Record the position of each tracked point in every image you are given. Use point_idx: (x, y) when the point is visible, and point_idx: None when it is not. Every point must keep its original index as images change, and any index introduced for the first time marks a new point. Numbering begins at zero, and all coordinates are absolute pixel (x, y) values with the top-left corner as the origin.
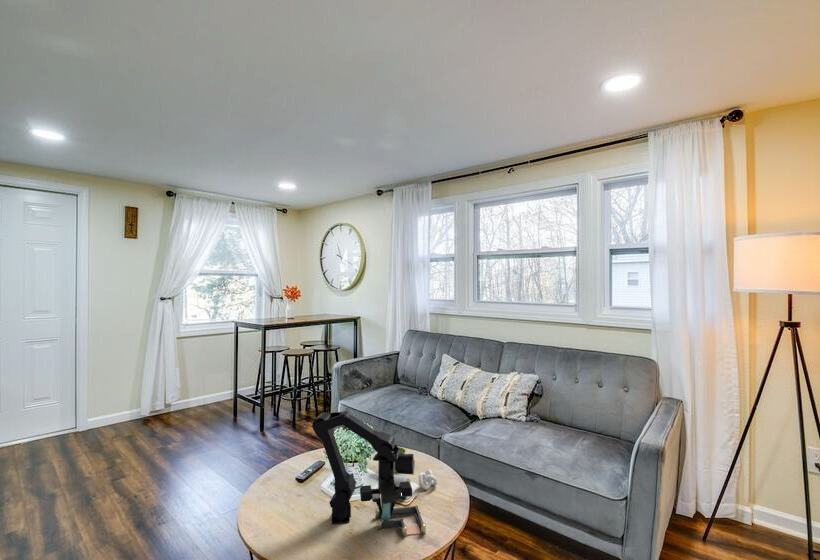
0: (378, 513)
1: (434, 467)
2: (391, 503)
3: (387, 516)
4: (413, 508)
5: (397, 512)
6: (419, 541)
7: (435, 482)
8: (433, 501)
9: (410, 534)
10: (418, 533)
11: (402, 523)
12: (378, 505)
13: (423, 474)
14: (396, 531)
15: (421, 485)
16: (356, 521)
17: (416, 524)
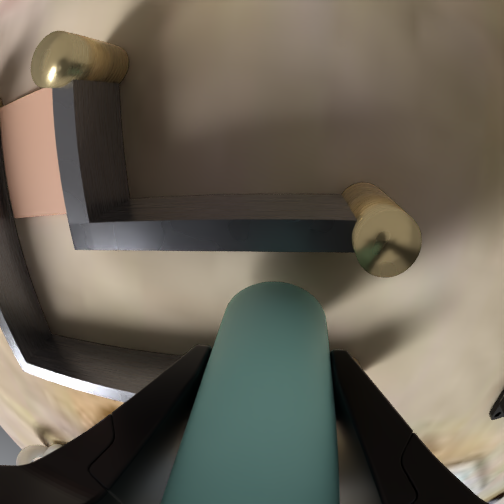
0: None
1: None
2: (147, 468)
3: (256, 314)
4: (40, 361)
5: (156, 373)
6: (25, 21)
7: (25, 450)
8: (12, 380)
9: None
10: (12, 102)
11: (72, 159)
12: (429, 471)
13: None
14: (176, 137)
15: None
16: (498, 340)
17: (20, 211)
